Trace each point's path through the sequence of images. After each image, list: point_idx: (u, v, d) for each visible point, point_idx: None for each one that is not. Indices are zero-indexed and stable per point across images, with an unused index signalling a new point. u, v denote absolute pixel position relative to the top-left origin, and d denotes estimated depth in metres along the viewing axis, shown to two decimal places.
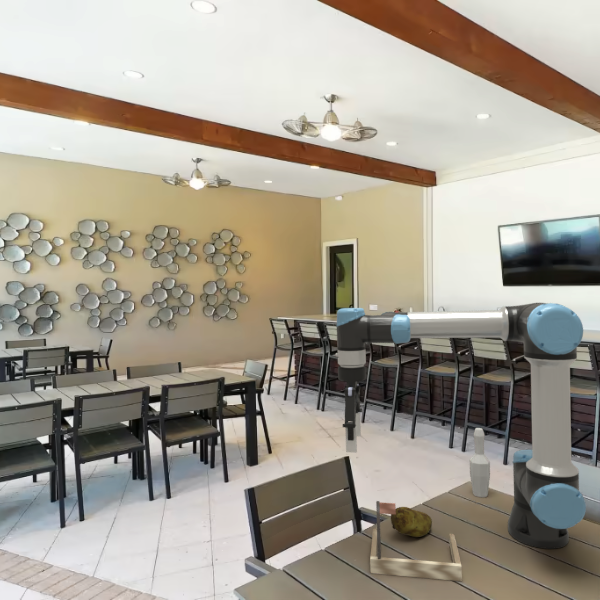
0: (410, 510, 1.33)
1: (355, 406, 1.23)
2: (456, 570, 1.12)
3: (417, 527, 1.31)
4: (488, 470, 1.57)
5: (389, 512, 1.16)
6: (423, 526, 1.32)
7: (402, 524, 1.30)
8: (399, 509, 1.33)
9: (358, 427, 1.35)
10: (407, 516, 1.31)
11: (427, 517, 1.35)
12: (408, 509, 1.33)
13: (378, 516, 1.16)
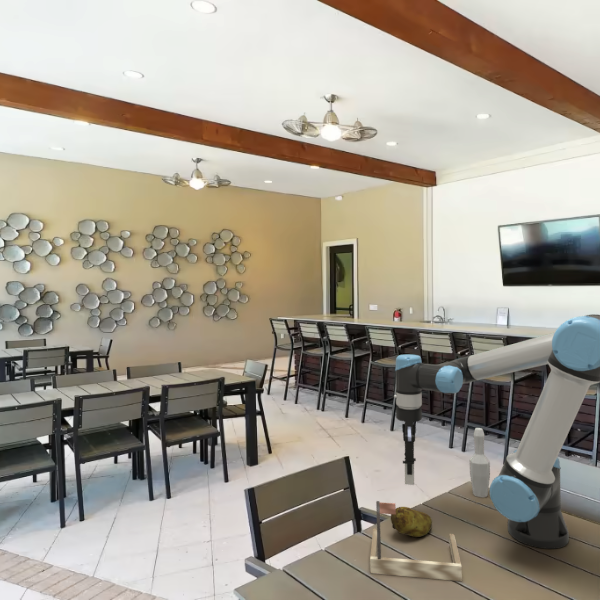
0: (410, 510, 1.33)
1: None
2: (456, 570, 1.12)
3: (417, 527, 1.31)
4: (488, 470, 1.57)
5: (389, 512, 1.16)
6: (423, 526, 1.32)
7: (402, 524, 1.30)
8: (399, 509, 1.33)
9: None
10: (407, 516, 1.31)
11: (427, 517, 1.35)
12: (408, 509, 1.33)
13: (378, 516, 1.16)
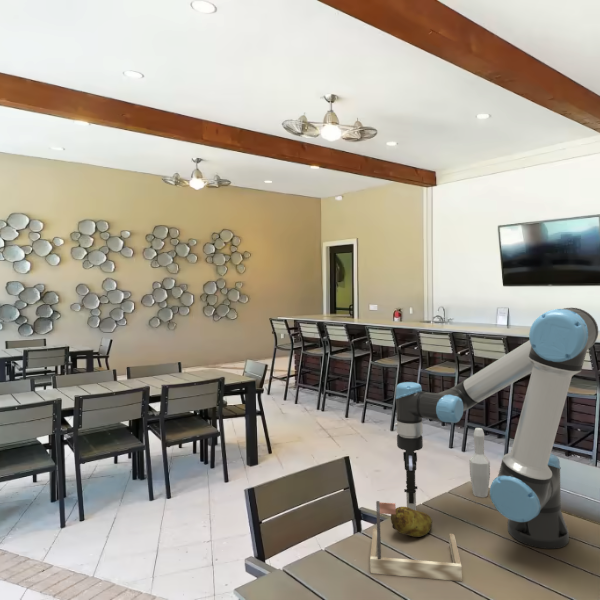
0: (410, 510, 1.33)
1: None
2: (456, 570, 1.12)
3: (417, 527, 1.31)
4: (488, 470, 1.57)
5: (389, 512, 1.16)
6: (423, 526, 1.32)
7: (402, 524, 1.30)
8: (399, 509, 1.33)
9: None
10: (407, 516, 1.31)
11: (427, 517, 1.35)
12: (408, 509, 1.33)
13: (378, 516, 1.16)
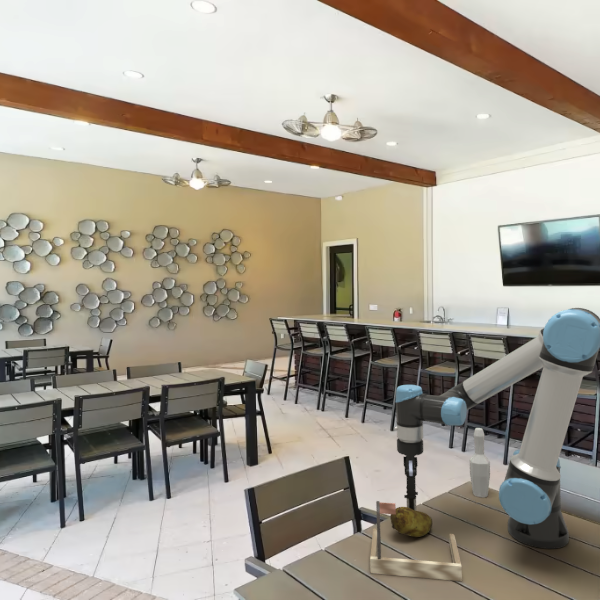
0: (410, 510, 1.33)
1: None
2: (456, 570, 1.12)
3: (416, 527, 1.30)
4: (488, 470, 1.56)
5: (389, 512, 1.16)
6: (423, 526, 1.32)
7: (401, 524, 1.30)
8: (399, 509, 1.33)
9: None
10: (407, 516, 1.31)
11: (427, 517, 1.35)
12: (408, 509, 1.33)
13: (378, 516, 1.16)
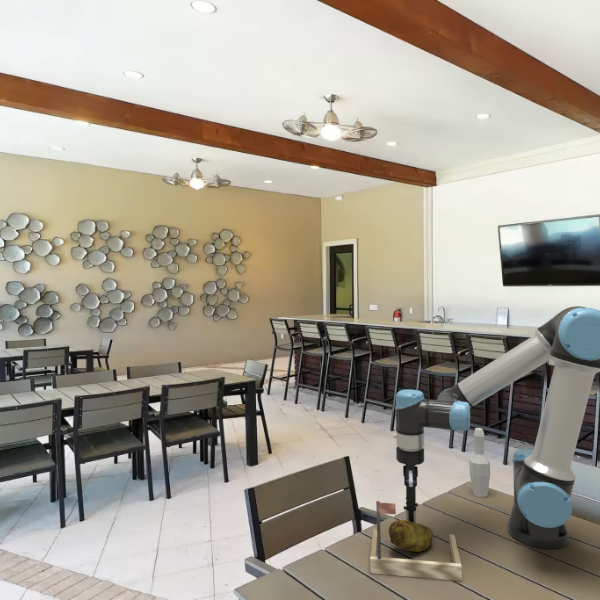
0: (410, 524, 1.25)
1: None
2: (456, 570, 1.12)
3: (416, 542, 1.23)
4: (488, 470, 1.57)
5: (389, 512, 1.16)
6: (424, 541, 1.24)
7: (401, 539, 1.22)
8: (398, 523, 1.25)
9: None
10: (407, 530, 1.23)
11: (427, 530, 1.27)
12: (408, 522, 1.25)
13: (378, 516, 1.16)
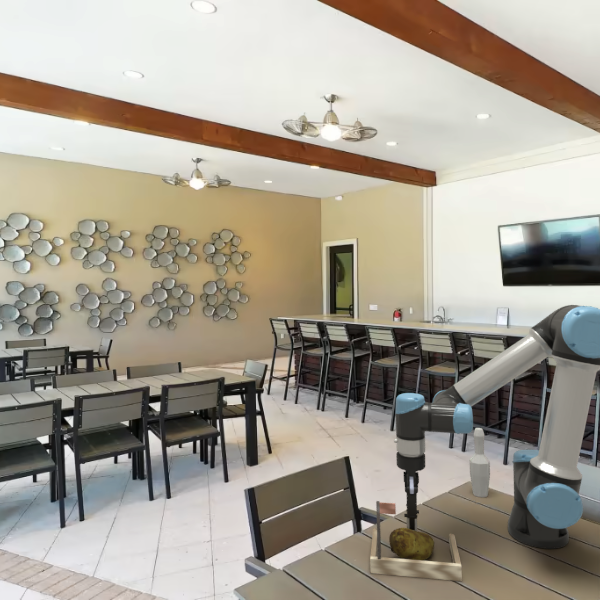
0: (411, 532, 1.21)
1: None
2: (456, 570, 1.12)
3: (418, 551, 1.19)
4: (488, 470, 1.57)
5: (389, 512, 1.16)
6: (425, 550, 1.20)
7: (401, 548, 1.18)
8: (399, 531, 1.21)
9: None
10: (408, 539, 1.19)
11: (429, 539, 1.23)
12: (409, 530, 1.21)
13: (378, 516, 1.16)
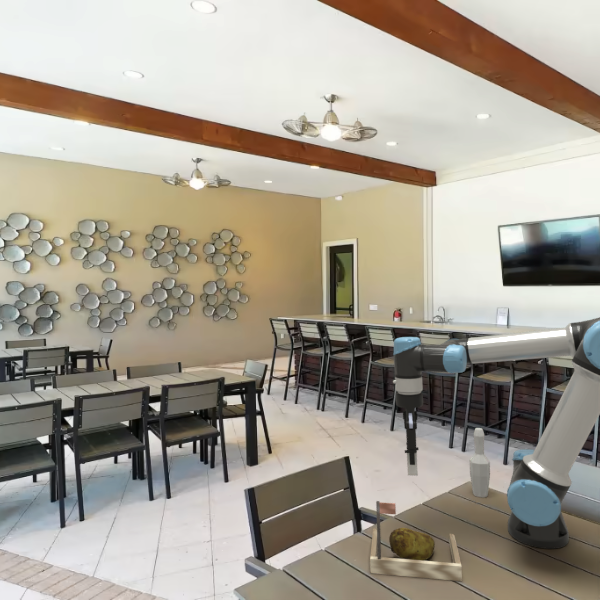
0: (411, 532, 1.21)
1: None
2: (456, 570, 1.12)
3: (418, 551, 1.19)
4: (488, 470, 1.57)
5: (389, 512, 1.16)
6: (425, 550, 1.20)
7: (401, 547, 1.18)
8: (398, 531, 1.21)
9: None
10: (407, 539, 1.19)
11: (429, 539, 1.23)
12: (409, 530, 1.21)
13: (378, 516, 1.16)
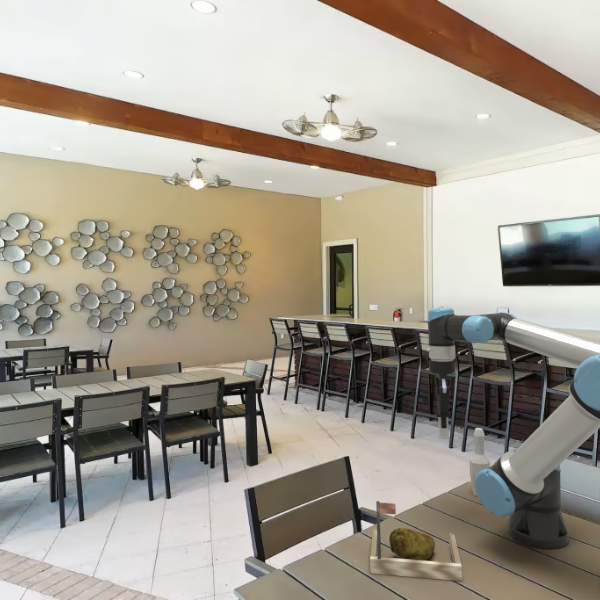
0: (411, 532, 1.21)
1: None
2: (456, 570, 1.12)
3: (418, 551, 1.19)
4: None
5: (389, 512, 1.16)
6: (425, 550, 1.20)
7: (401, 547, 1.18)
8: (398, 531, 1.21)
9: None
10: (407, 538, 1.19)
11: (429, 539, 1.23)
12: (409, 530, 1.21)
13: (378, 516, 1.16)
